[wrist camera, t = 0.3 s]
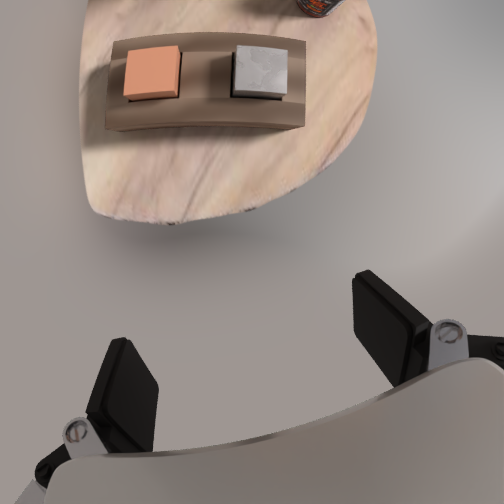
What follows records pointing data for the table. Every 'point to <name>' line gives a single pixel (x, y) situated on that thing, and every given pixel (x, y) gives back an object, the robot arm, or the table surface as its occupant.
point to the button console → (207, 85)
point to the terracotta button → (153, 74)
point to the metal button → (259, 73)
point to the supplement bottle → (319, 6)
